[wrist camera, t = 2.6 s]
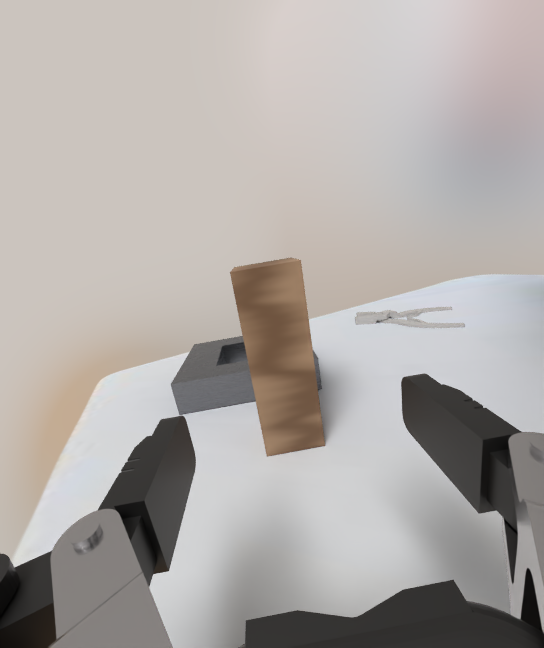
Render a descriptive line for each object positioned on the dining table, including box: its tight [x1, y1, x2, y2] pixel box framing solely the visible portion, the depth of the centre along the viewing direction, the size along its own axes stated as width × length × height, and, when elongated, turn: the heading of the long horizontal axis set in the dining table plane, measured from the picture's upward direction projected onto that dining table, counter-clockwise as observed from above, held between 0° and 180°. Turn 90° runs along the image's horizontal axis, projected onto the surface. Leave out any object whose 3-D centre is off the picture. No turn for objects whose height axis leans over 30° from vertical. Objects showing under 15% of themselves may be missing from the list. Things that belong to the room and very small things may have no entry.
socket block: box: [171, 336, 322, 415], centre depth 35 cm, size 15×12×4 cm
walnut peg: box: [230, 258, 325, 456], centre depth 22 cm, size 4×4×14 cm
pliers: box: [355, 307, 465, 328], centre depth 46 cm, size 10×2×15 cm
